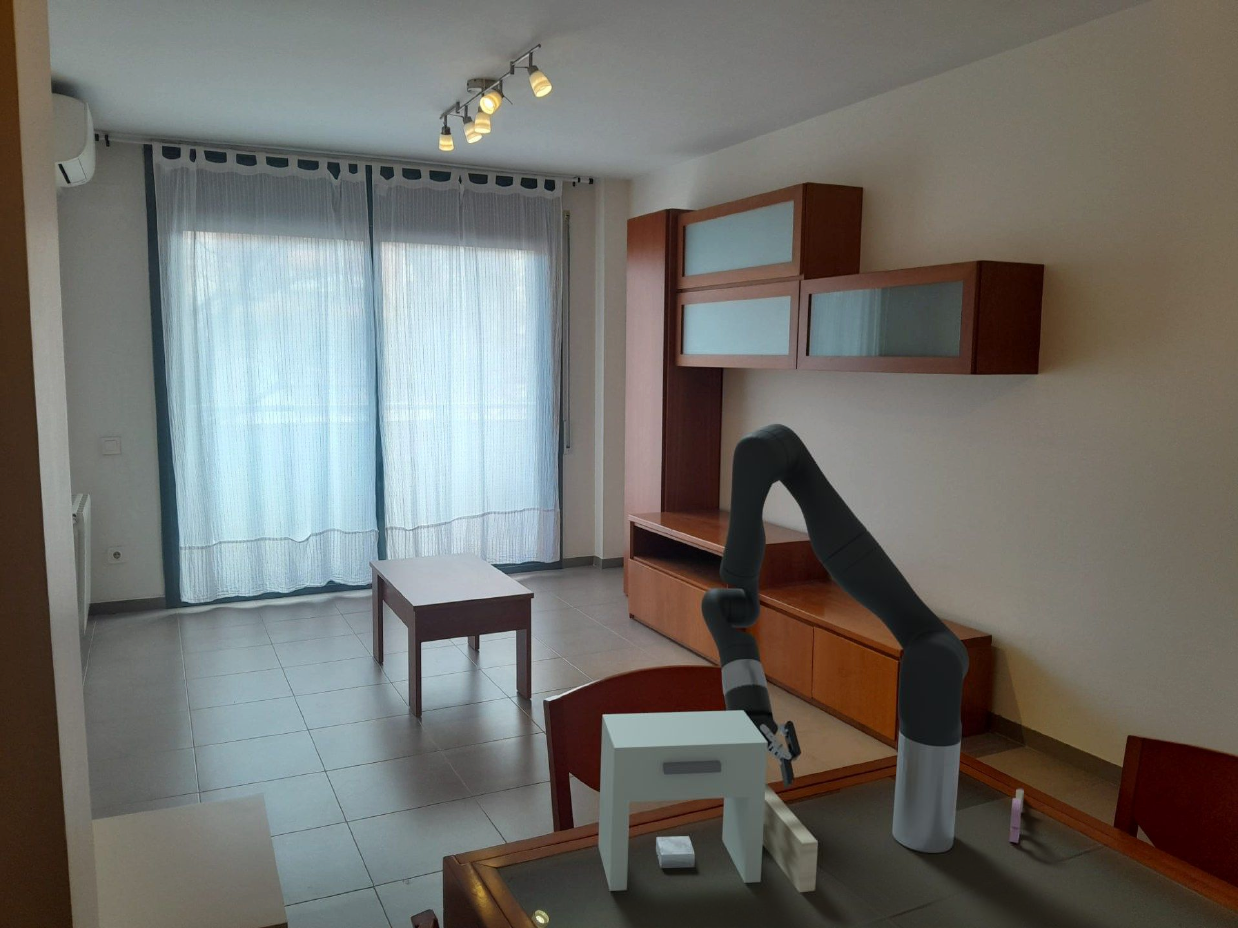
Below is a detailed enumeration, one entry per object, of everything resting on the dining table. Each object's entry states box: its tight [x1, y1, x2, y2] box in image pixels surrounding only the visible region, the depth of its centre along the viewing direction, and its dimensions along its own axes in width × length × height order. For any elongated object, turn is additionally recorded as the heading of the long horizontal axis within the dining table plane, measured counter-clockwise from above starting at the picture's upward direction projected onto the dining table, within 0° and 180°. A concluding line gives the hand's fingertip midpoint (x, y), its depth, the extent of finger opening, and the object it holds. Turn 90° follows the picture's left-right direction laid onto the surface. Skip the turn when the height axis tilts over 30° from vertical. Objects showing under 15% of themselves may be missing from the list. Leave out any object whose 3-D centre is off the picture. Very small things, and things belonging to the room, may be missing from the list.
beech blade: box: [762, 782, 819, 893], centre depth 141 cm, size 22×2×8 cm, turn 14°
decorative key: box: [1009, 788, 1025, 844], centre depth 153 cm, size 7×1×20 cm
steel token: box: [655, 835, 696, 869], centre depth 138 cm, size 5×5×2 cm
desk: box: [598, 710, 768, 892], centre depth 135 cm, size 13×22×21 cm, turn 99°
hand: (762, 786), depth 148 cm, fingers open, 8 cm apart
